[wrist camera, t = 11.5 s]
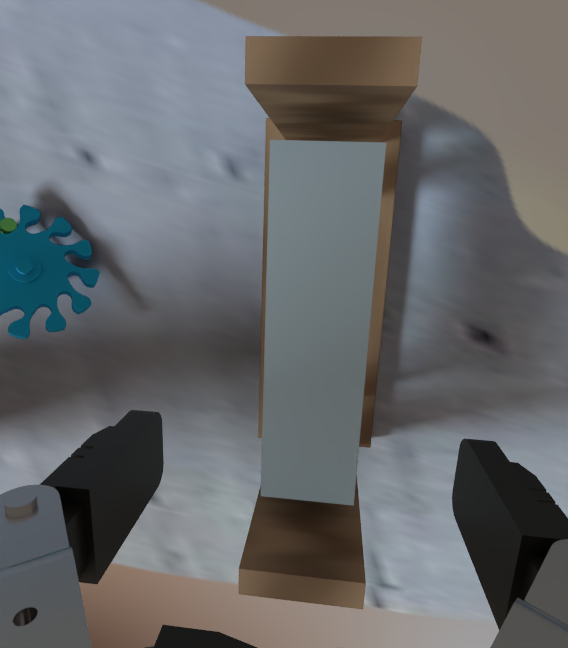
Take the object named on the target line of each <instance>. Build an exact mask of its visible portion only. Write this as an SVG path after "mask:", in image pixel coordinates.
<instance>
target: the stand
mask: <svg viewBox="0 0 568 648" xmlns="http://www.w3.org/2000/svg"><path fill="white" fill-rule="evenodd" d="M421 43H422V37H302V36H246V47H245V85H246V86H247V87H248V89H249V90H250V92H251V93H252V94H253V96H254V97H255V98H256V100H257V101H258V103H259V104H260V105H261V107H262V108H263V109H264V111H265V112H266V114H267V115H268V116H269V118H266V148H265V189H264V230H263V272H262V313H261V354H260V396H259V437H258V438H262V426H263V388H264V350H265V312H266V274H267V237H268V199H269V161H270V140H299V141H341V142H383V143H386V151H385V162H384V173H383V184H382V196H381V207H380V218H379V229H378V240H377V251H376V263H375V274H374V285H373V296H372V307H371V318H370V329H369V341H368V352H367V363H366V374H365V385H364V396H363V407H362V419H361V430H360V441H359V447H369V448H370V445H371V435H372V425H373V415H374V404H375V394H376V384H377V373H378V363H379V353H380V343H381V332H382V322H383V312H384V301H385V291H386V281H387V271H388V260H389V250H390V240H391V230H392V219H393V209H394V199H395V188H396V178H397V168H398V158H399V147H400V137H401V127H402V121H399V120H394V119H395V117H396V116H397V115H398V113H399V112H400V110H401V109H402V107H403V106H404V104H405V103H406V101H407V100H408V99H409V97H410V96H411V94H412V93H413V91H414V90H415V88H416V87H417V82H418V72H419V62H420V52H421ZM365 585H366V582H365V570H364V558H363V546H362V534H361V522H360V510H359V498H358V486H357V474H356V486H355V497H354V506H353V505H343V504H333V503H324V502H314V501H304V500H294V499H284V498H274V497H264V496H261V487H260V490H259V494H258V498H257V502H256V506H255V509H254V513H253V517H252V521H251V525H250V529H249V532H248V536H247V540H246V544H245V548H244V551H243V555H242V559H241V563H240V567H239V594H243V595H251V596H259V597H267V598H275V599H283V600H291V601H299V602H308V603H315V604H323V605H332V606H340V607H348V608H356V609H363V604H364V595H365Z"/></svg>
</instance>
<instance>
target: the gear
mask: <svg viewBox="0 0 568 648" xmlns="http://www.w3.org/2000/svg"><path fill="white" fill-rule="evenodd" d="M39 220H40V211H38V210H37V209H35V208H33V207H30V206H27V205H23V206H22V207H21V208H20V222H19V224H18V226H17V224H16V222H15V221H14V220H13V219H11V218H5V217H4V212H3V210H2V209H0V316H1V315H2V314H4V313H6V312H8V311H10V310H13V309H20V310H22V311H23V312H24V313H25V315H24V317H23V318H22V319H20V320H17V321H15V322H13V323H11V324H10V326H9V328H8V332H9V334H10V335H11V336H13V337H16V338H20V339H25V340H26V339H27V338H28V337H29V335H30V326H29V324H30V320H31V317H32V316H33V314H34V313H35V312H36V310H37V309H38V308H40V307H47V308H49V309H50V310H51V312H52V313H51V315H50V316H49V317H48V319H47V320H46V330H47V331H48V332H58V331H62V330H65V327H66V321H65V319H64V318H63V317H62V316H61V314H60V313H59V310H58V307H57V298H58V296H60V295H62V294H67V295H69V296H70V297H71V299H72V310H73V311H74V312H75V313H76V314H81V313H83V312H84V311H86V310H87V309H88V308H89V307H90V306H91V300H90V299H89V298H88V297H86V296H84V295H81V294H79V293H78V292H77V291H75V290H74V289H73V287H72V286H71V284H70V283H69V281H68V277H69V276H71V275H77V276H79V277H80V279H81V280H82V282H83V284H84V285H85V286H87V287H90V288H93V287H94V286H95V285H96V283H97V280H98V277H99V273H100V272H99V271H98V270H96V269H93V268H90V269H85V268H79V267H77V266H75V265H73V264H71V263H69V262H68V261H67V260H66V259H65V256H66V255H67V254H73V255H75V256H77V257H79V258H80V259H83V260H87V259H90V258H91V255H92V248H91V245H90V242H89V241H87V240H82V241H79V242H78V243H76V244H73V245H56V244H53V243H52V242H51V241H50V240H49V239H50V238H51V237H53V236H59V237H67V236H69V235H70V234H71V231H72V227H71V225H70V224H69V223H68V222H67V221H66V220H65V219H64V218H63V217H58V218H56V219H55V220H54V222H53V224H52V225H51V227H49V228H48V229H47V230H45V231H43V232H40V233H36V234H31V233H28V232H27V231H26V228H27V227H28V226H31V225H34V224H36V223H38V222H39Z"/></svg>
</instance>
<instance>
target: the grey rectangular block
mask: <svg viewBox="0 0 568 648" xmlns="http://www.w3.org/2000/svg"><path fill="white" fill-rule="evenodd" d="M385 151H386V143H383V142H341V141H299V140H270V161H269V199H268V237H267V274H266V312H265V350H264V388H263V426H262V464H261V496H264V497H274V498H284V499H294V500H304V501H314V502H324V503H333V504H343V505H353V506H354V497H355V486H356V474H357V463H358V452H359V441H360V430H361V419H362V407H363V396H364V385H365V374H366V363H367V352H368V341H369V329H370V318H371V307H372V296H373V285H374V274H375V263H376V251H377V240H378V229H379V218H380V207H381V196H382V184H383V173H384V162H385Z"/></svg>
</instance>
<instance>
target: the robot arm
mask: <svg viewBox="0 0 568 648" xmlns="http://www.w3.org/2000/svg"><path fill="white" fill-rule="evenodd" d="M162 473H163V436H162V418H161V415H160V413H159V412H150V411H138V410H131V411H130V412H128V413H127V414H126V415H125V416H124V417H123V418H122V419H121V420H120V421H119V422H118V423H117V424H116V425H115V426H109V427H107V428H105V429H103V430H101V431H99V432H97V433H95V434H93V435H92V436H91V437H90V438H89V439H87V440H86V441H85V442H84V443H83V444H82V445H81V448H78V449H77V450H76V451H75V452H74V453H73V454H72V455H71V457H68V458H67V459H66V460H65V461H64V462H63V463H62V464H61V465H60V466H59V467H58V468H57V469H56V470H55V471H54V472H53V473H52V474H51V475H49V476H48V477H47V478H46V479H45V480H44V481H43V482H42V483H41V484H40V485H28V486H23V487H19V488H15V489H12V490H10V491H7V492H5V493H3V494H1V495H0V648H92V646H91V641H90V636H89V631H88V626H87V621H86V616H85V611H84V606H83V601H82V596H81V590H80V585H79V582H83V583H91V584H98V582H99V581H100V579H101V578H102V576H103V574H104V573H105V571H106V570H107V568H108V566H109V565H110V563H111V562H112V560H113V558H114V557H115V555H116V554H117V552H118V550H119V549H120V547H121V546H122V544H123V542H124V541H125V539H126V538H127V536H128V534H129V533H130V531H131V529H132V528H133V526H134V525H135V523H136V521H137V520H138V518H139V517H140V515H141V513H142V512H143V510H144V509H145V507H146V505H147V504H148V502H149V501H150V499H151V497H152V496H153V494H154V493H155V491H156V489H157V488H158V486H159V484H160V481H161V477H162ZM452 504H453V512H454V516H455V519H456V522H457V524H458V527H459V530H460V532H461V535H462V537H463V540H464V542H465V545H466V547H467V550H468V552H469V555H470V557H471V560H472V562H473V565H474V567H475V570H476V572H477V575H478V578H479V580H480V583H481V585H482V588H483V590H484V593H485V595H486V598H487V600H488V603H489V605H490V608H491V610H492V613H493V615H494V618H495V621H496V623H497V625H498V628H499V633H498V635H497V636H496V638H495V640H494V642H493V644H492V646H491V648H568V518H567V517H566V515H565V514H564V513H563V511H562V510H561V509H560V508H559V506H558V505H555V501H554V500H553V498H552V497H551V496H550V494H549V493H546V489H545V488H544V486H543V485H542V484H541V482H540V481H539V480H538V478H537V477H536V476H535V475H534V474H532V473H531V472H530V471H528V470H527V469H525V468H524V467H523V466H521V465H520V464H518V463H514V462H509V460H508V459H507V457H506V456H505V455H504V453H503V452H502V450H501V449H500V447H499V446H498V445H497V443H496V442H494V441H485V440H474V439H463V440H462V441H461V444H460V448H459V454H458V461H457V467H456V473H455V480H454V486H453V494H452ZM146 648H257V647H254V646H252V645H249V644H247V643H244V642H242V641H239V640H237V639H235V638H232V637H230V636H227V635H225V634H222V633H220V632H214V631H206V630H199V629H191V628H183V627H175V626H168V625H163V626H162V628H161V631H160V633H159V635H158V638H157V640H156V643H155V645H154V646H153V647H146Z"/></svg>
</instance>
